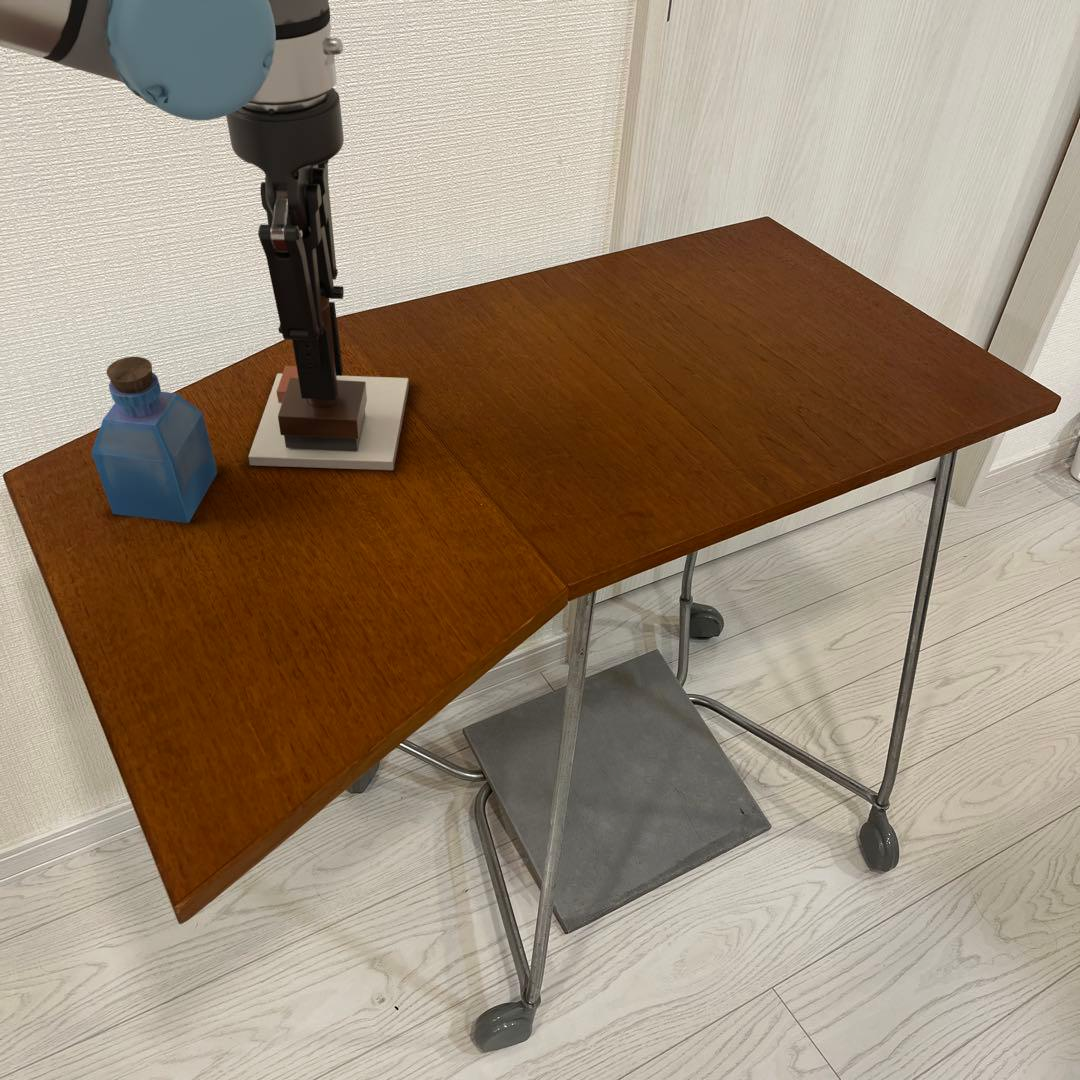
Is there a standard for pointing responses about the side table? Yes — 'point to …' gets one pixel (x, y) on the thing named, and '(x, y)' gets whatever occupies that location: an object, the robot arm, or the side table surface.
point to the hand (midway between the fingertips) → (322, 383)
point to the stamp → (324, 411)
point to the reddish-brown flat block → (286, 381)
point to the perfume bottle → (152, 447)
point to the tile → (372, 452)
